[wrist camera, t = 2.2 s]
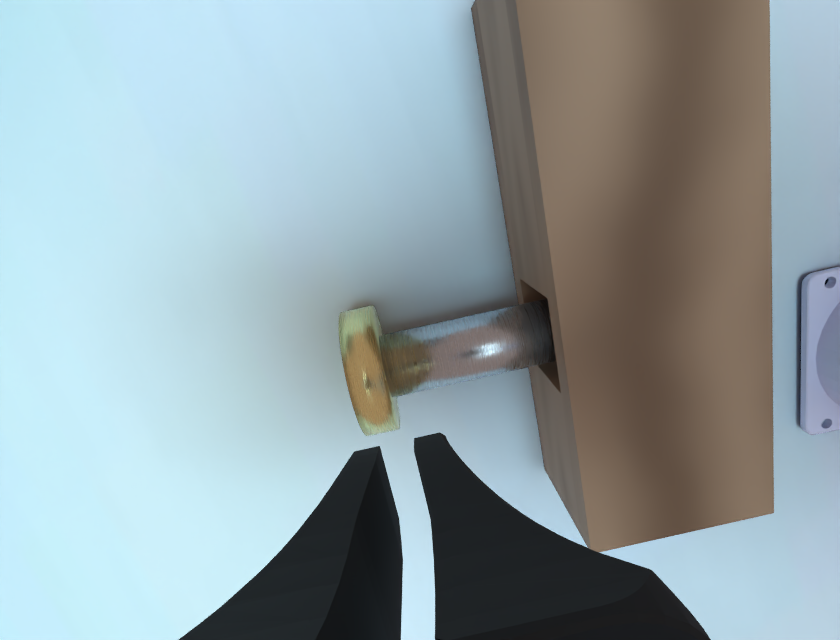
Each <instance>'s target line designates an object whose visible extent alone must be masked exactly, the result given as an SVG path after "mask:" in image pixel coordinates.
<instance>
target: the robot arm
mask: <svg viewBox="0 0 840 640" xmlns="http://www.w3.org/2000/svg"><path fill="white" fill-rule="evenodd" d="M827 278H828V279H829V280H828V283H827V284H826V285H825V281H826V279H827ZM824 420H825V421H824ZM823 421H824V422H823ZM822 422H823V423H822ZM800 425H801V428H802V430H803V431H805V432H807V433H808V434H811V435H816V434H821V433H825V432H830V431H834V430H839V429H840V267H835V268H831V269H826V270H822V271H817V272H813V273H811V274H808V275H807V276H806V277H805V278H804V280H803V282H802V308H801V419H800ZM414 452H415V456H416V460H417V465H418V469H419V473H420V477H421V481H422V485H423V489H424V493H425V497H426V501H427V506H428V510H429V514H430V518H431V527H432V540H433V554H434V574H435V640H711V639H710V638H709V636H708V635H707V633H706V632H705V630H704V629H703V628H702V626H701V625H700V624H699V622H698V621H697V620H696V619H695V617H694V616H693V615H692V614H691V612H690V611H689V610H688V609H687V608H686V607H685V606H684V605H683V603H682V602H681V601H680V600H679V599H678V598H677V597H676V596H675V594H674V593H673V592H672V591H671V590H670V589H669V588H668V587H667V586H666V585H665V584H664V583H663V582H662V580H661V579H660V578H659V577H658V576H657V575H656V574H655V573H654V572H653V571H652V570H650V569H647V568H644V567H641V566H638V565H635V564H632V563H629V562H626V561H623V560H620V559H617V558H614V557H610V556H607V555H604V554H601V553H599V552H596V551H594V550H591V549H589V548H587V547H584V546H582V545H580V544H577V543H575V542H573V541H570V540H568V539H566V538H564V537H562V536H560V535H558V534H556V533H555V532H553V531H551V530H549V529H547V528H545V527H543V526H541V525H540V524H538V523H536V522H535V521H533V520H531V519H530V518H528V517H527V516H525V515H524V514H522V513H521V512H519V511H518V510H517V509H515V508H514V507H512V506H511V505H510V504H508V503H507V502H506V501H504V500H503V499H502V498H501V497H499V496H498V495H497V494H496V493H495V492H493V491H492V490H491V489H490V488H489V487H488V486H487V485H485V484H484V483H483V482H482V481H481V480H480V479H479V478H478V477H477V476H476V475H475V474H474V473H473V472H472V471H471V470H470V469H469V468H468V466H467V465H466V464H465V463H464V462H463V461H462V460H461V459H460V457H459V456H458V455H457V454H456V452H455V451H454V450H453V448H452V447H451V446H450V444H449V442H448V441H447V439H446V436H445V435H443V434H441V433H436V434H431V435H427V436H422V437H418V438H414ZM402 570H403V557H402V545H401V535H400V524H399V517H398V513H397V510H396V506H395V502H394V498H393V494H392V491H391V487H390V483H389V479H388V476H387V472H386V468H385V464H384V461H383V457H382V453H381V449H380V446H378V447H373V448H369V449H364V450H360V451H355V452H354V453H353V454H352V456H351V457H350V459H349V460H348V462H347V463H346V465H345V466H344V468H343V469H342V471H341V472H340V474H339V475H338V477H337V478H336V480H335V481H334V483H333V484H332V486H331V487H330V489H329V490H328V492H327V493H326V495H325V496H324V497H323V499H322V500H321V502H320V503H319V505H318V506H317V507H316V508H315V510H314V511H313V512H312V514H311V515H310V516H309V517H308V519H307V520H306V521H305V523H304V524H303V525H302V526H301V528H300V529H299V530H298V531H297V533H296V534H295V535H294V536H293V537H292V539H291V540H290V541H289V542H288V543H287V544H286V545H285V546H284V548H283V549H282V550H281V551H280V552H279V553H278V554H277V555H276V556H275V557H274V558H273V559H272V560H271V561H270V562H269V563H268V564H267V565H266V566H265V567H264V568H263V569H262V570H261V571H260V572H259V573H258V574H257V575H256V576H255V577H254V578H253V579H252V580H250V581H249V582H248V583H247V584H246V585H245V586H244V587H243V588H242V589H240V590H239V591H238V592H237V593H236V594H235V595H234V596H233V597H232V598H230V599H229V600H228V601H227V602H226V603H225V604H224V605H222V606H221V607H220V608H219V609H218V610H216V611H215V612H214V613H213V614H211V615H210V616H209V617H208V618H206V619H205V620H204V621H203V622H201V623H200V624H199V625H198V626H196V627H195V628H194V629H192V630H191V631H190V632H188V633H187V634H186V635H184V636H183V637H182V638H180V639H179V640H401V608H402Z"/></svg>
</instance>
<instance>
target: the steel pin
mask: <svg viewBox="0 0 840 640" xmlns="http://www.w3.org/2000/svg"><path fill="white" fill-rule="evenodd" d="M339 340H340V348H341V355H342V361H343V367H344V372H345V377H346V381H347V386H348V390H349V394H350V398H351V401H352V405H353V408H354V411H355V414H356V417H357V420H358V423H359V425H360V427H361V429H362V431H363V433H364V434H365V435H366V436H371V435H375V434H380V433H384V432H389V431H393V430H398V429H400V417H399V408H398V401H397V396H401V395H406V394H410V393H415V392H419V391H424V390H428V389H433V388H437V387H442V386H446V385H451V384H455V383H460V382H464V381H469V380H473V379H478V378H482V377H487V376H491V375H496V374H500V373H505V372H509V371H514V370H518V369H522V368H527V367H531V366H536V365H540V364H545V363H549V362H554V361H556V354H555V347H554V340H553V333H552V326H551V319H550V312H549V305H548V298H547V299H543V300H538V301H534V302H529V303H525V304H520V305H516V306H511V307H507V308H502V309H498V310H493V311H489V312H484V313H480V314H475V315H471V316H466V317H462V318H457V319H453V320H448V321H444V322H439V323H435V324H430V325H426V326H421V327H417V328H412V329H408V330H403V331H399V332H394V333H390V334H385V335H383V332H382V328H381V325H380V321H379V318H378V315H377V312H376V310H375V308H374V306H373V305H371V306H367V307H362V308H358V309H353V310H349V311H344V312H341V313H340V315H339Z"/></svg>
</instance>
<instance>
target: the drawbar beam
mask: <svg viewBox="0 0 840 640" xmlns="http://www.w3.org/2000/svg"><path fill="white" fill-rule="evenodd" d="M471 10H472V17H473V23H474V29H475V35H476V42H477V48H478V54H479V60H480V67H481V73H482V79H483V85H484V92H485V98H486V104H487V110H488V117H489V123H490V129H491V135H492V142H493V148H494V154H495V160H496V167H497V173H498V179H499V185H500V192H501V198H502V204H503V210H504V217H505V223H506V229H507V235H508V242H509V248H510V254H511V260H512V267H513V273H514V279H515V286H516V292H517V298H518V304H519V305H520V304H525V303H529V302H534V301H538V300H543V299H547V298H548V305H549V312H550V319H551V326H552V333H553V340H554V347H555V354H556V361H554V362H549V363H545V364H540V365H536V366H531V367H529V373H530V379H531V386H532V392H533V398H534V404H535V411H536V417H537V423H538V429H539V436H540V442H541V448H542V454H543V461H544V467H545V471H546V472H547V474H548V476H549V478H550V480H551V481H552V483H553V485H554V487H555V489H556V491H557V492H558V494H559V496H560V498H561V500H562V501H563V503H564V505H565V507H566V509H567V511H568V512H569V514H570V516H571V518H572V520H573V521H574V523H575V525H576V527H577V529H578V530H579V532H580V534H581V536H582V538H583V540H584V541H585V543H586V545H587V547H588V548H589V549H591V550H594V551H596V552H602V551H607V550H611V549H616V548H620V547H625V546H629V545H634V544H638V543H642V542H647V541H651V540H656V539H660V538H665V537H669V536H674V535H678V534H682V533H687V532H691V531H696V530H700V529H705V528H709V527H714V526H718V525H723V524H727V523H731V522H736V521H740V520H745V519H749V518H754V517H758V516H763V515H767V514H771V513H774V477H773V360H772V244H771V127H770V11H769V0H475V2H474V4H473V6H472V8H471Z"/></svg>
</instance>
